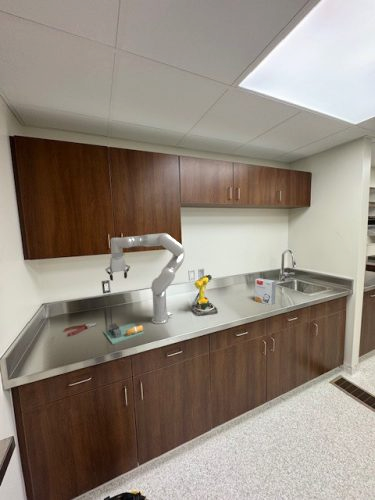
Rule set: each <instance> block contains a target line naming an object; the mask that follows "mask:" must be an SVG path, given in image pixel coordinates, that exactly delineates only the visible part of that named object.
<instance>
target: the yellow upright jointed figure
mask: <svg viewBox="0 0 375 500" xmlns="http://www.w3.org/2000/svg"><path fill="white" fill-rule="evenodd" d="M212 278H213V277H212V275H211V274H208V275H203V277H200V278H199V279H197V280H196V281H195V282H194V287H195V288H196V289H199V292H198V293H197V295H196V297H195V299H194V301H193V303H192V304H191V310H192V311H193V312H194V314H195V315H196V316H208V315H211V314H215V315H216V314H218V313H219V311H218V308H217V307H216V306H215V305H214V304H213V303H211V302H210V301H209V298H208V297H205V294H206V293H205V291H206V286H207V285H208V283H209V282H210V281H211V280H212ZM208 307H211V308H209V309H207V308H208Z"/></svg>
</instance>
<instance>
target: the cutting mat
mask: <svg viewBox="0 0 375 500" xmlns="http://www.w3.org/2000/svg"><path fill="white" fill-rule="evenodd" d="M118 327H119V329H120V330H121V335H122V337H118V338H115V337H114V336H113V335H112V334H111V333H110V332H109V329H108V330H107V329H106V330H103V333H104V334H105V336H106V338H107V339H108V340H109V342H110V343H111V344H112V345H115V344H118V343H122V342H124V341H127V340H130V339H134V338H136V337H140V336H142V335H145V332H144V331H143V330H144V327H143V325H136V324H135V322H134V323H133V322H131V323H129V324H125V325H122V326H121V325H120V326H118Z"/></svg>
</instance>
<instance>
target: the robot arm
mask: <svg viewBox="0 0 375 500" xmlns="http://www.w3.org/2000/svg"><path fill="white" fill-rule="evenodd" d="M159 246H162V247H163V248H165V250H168V252H169V253H171V254H172V257H171V259H170V260H169V261H168V262H167V264H166V265H165V266H164V267H163V268H162V269H161V272H160V274H159V275H158V277H156V278H154V279H153V280H152V282H151V287H150V288H151V292H152V308H153V309H152V310H153V317H152V318H151V322H152V323H153V324H156V325H157V324H158V325H159V324H160V325H162V324H166V323H168V322H169V321H170V317H171V316H173V312H167V289H168V287H169V286H170V285H171V283H172V282H173V281H174V279H175V277H176V273H177V271H178V270H179V268H181V266H182V265H183V262H184V260H185V248H184V246H183V245H182V244H181V243H180V242H178V241H177V240H176V239H174V238H173V237H172V236H171V235H170V234H168V233H166V232H162V233H152V234H151V233H150V234H144V235H134V236H133V235H132V236H124V237H111V238H110V253H111V257H110V258H109V266H108V267H106V268H105V269H104V271H105V272H106V274H108V275H109V280H110V281H112V282H113V281H114V277H113V274H114V273H117V272H123V278H124V279H127V277H128V272H129V271H130V269H131V266H130V265H128V264H126V261H125V260H126V259H125V257H124V256H125V252H123V249H128V248H133V247H159Z"/></svg>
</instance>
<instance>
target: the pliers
mask: <svg viewBox="0 0 375 500" xmlns="http://www.w3.org/2000/svg"><path fill="white" fill-rule="evenodd" d="M97 325H98V323H97V322H92V323H87V324H86V323H83V324H79V325H72V326H69V327H65V328H64V330H63V331H64V332H68V331H70V332H68V333H67V337H72V336H75V335H77V334H80V333H81V332H83V331H85V330H88V328H92V327H94V326H97ZM72 330H74V331H72Z"/></svg>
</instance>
